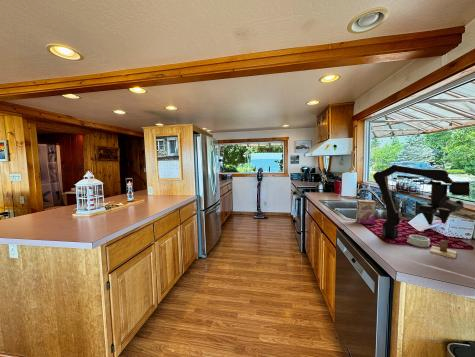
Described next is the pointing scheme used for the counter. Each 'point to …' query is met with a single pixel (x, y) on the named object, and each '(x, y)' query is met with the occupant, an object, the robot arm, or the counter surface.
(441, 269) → the counter surface
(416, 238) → the bowl
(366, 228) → the counter surface
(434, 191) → the robot arm
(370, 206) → the candy bar box
